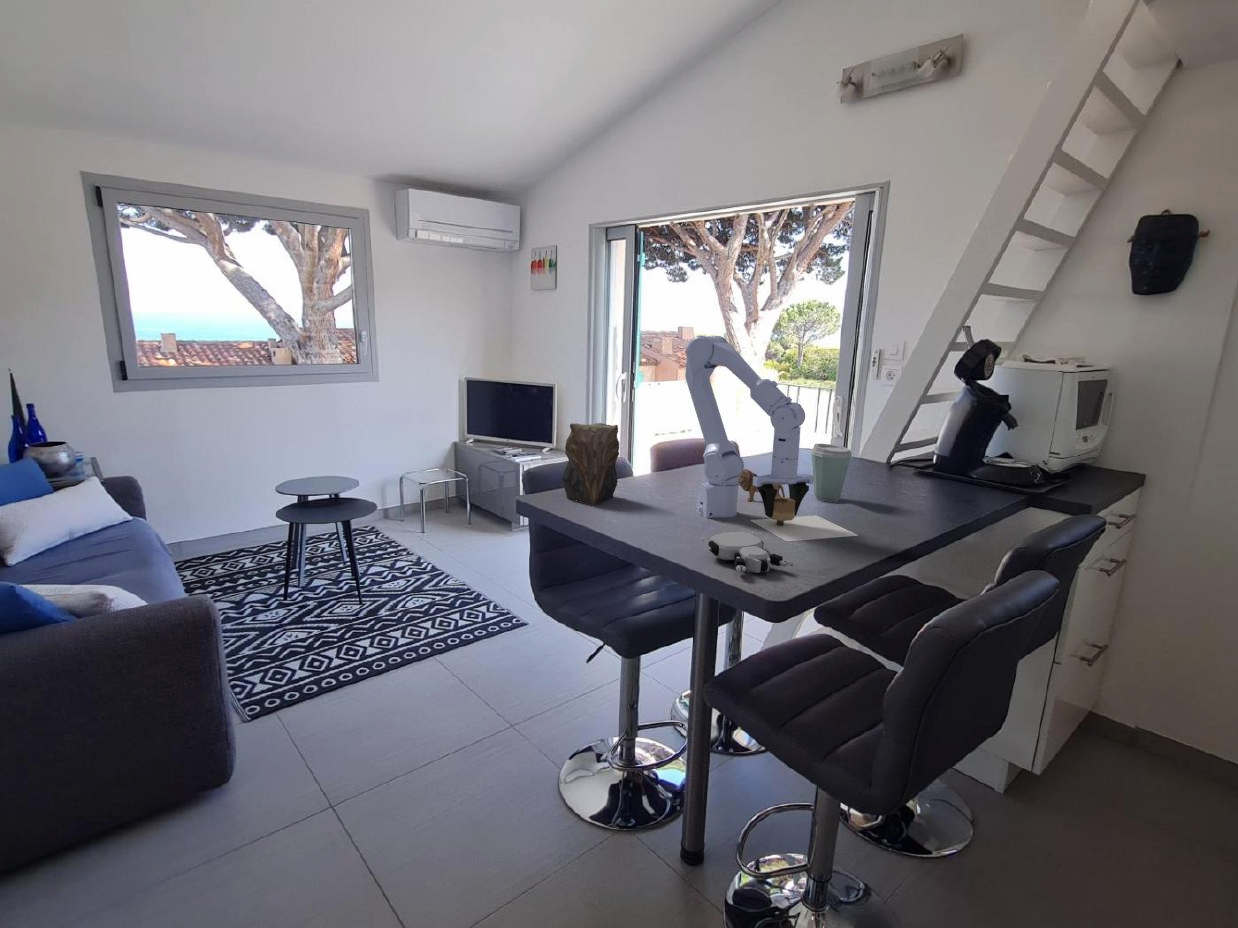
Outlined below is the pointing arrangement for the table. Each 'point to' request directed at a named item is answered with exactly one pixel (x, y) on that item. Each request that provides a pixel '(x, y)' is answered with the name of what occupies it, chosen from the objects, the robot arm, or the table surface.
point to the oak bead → (783, 509)
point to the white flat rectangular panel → (804, 528)
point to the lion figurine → (747, 485)
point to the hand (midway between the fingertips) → (780, 515)
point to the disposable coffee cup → (829, 470)
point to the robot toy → (743, 551)
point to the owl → (591, 462)
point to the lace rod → (780, 522)
